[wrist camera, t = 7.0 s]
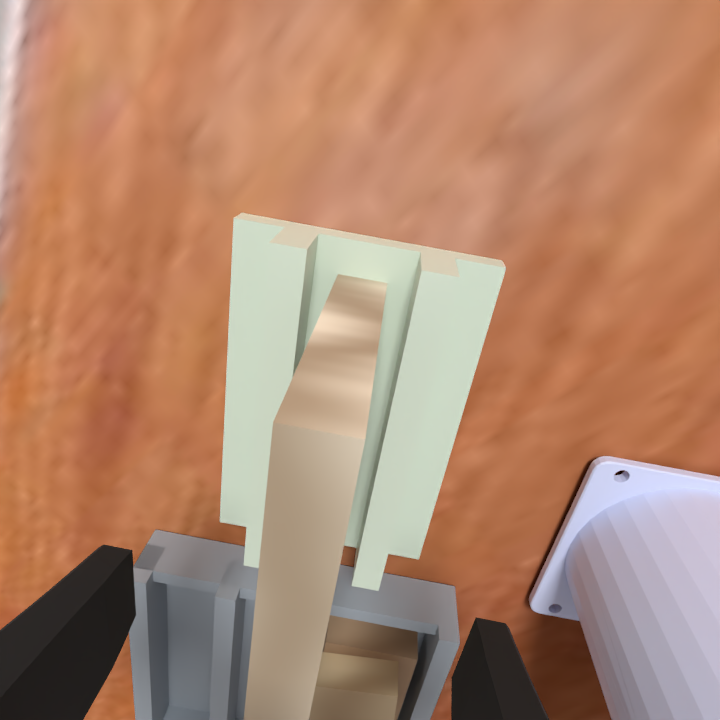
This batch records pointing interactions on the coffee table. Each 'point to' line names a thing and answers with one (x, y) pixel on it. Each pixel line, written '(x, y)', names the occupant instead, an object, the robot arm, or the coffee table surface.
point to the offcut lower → (375, 647)
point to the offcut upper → (355, 688)
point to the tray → (235, 625)
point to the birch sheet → (311, 499)
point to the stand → (391, 379)
